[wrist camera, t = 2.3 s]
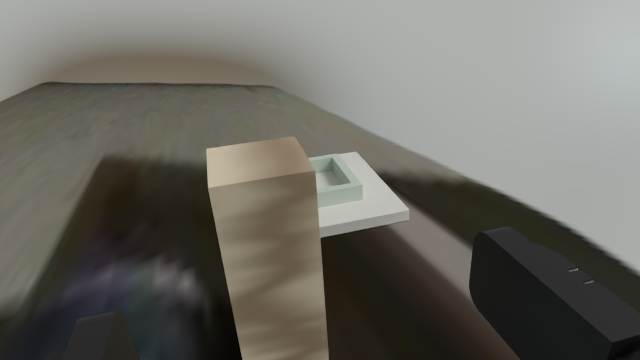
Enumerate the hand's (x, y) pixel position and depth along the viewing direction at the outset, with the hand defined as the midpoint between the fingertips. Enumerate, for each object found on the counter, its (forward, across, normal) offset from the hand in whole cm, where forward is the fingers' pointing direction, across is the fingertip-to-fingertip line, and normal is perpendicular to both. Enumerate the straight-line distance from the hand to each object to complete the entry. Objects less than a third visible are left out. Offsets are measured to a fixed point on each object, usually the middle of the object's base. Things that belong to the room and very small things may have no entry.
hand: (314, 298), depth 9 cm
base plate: (+28, -6, +13) cm, 32 cm away
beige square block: (+12, 0, +13) cm, 17 cm away
